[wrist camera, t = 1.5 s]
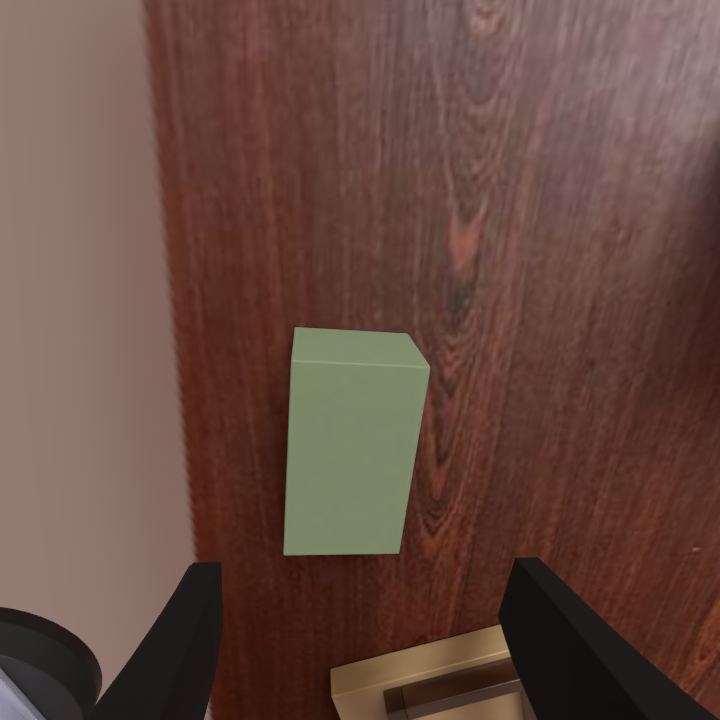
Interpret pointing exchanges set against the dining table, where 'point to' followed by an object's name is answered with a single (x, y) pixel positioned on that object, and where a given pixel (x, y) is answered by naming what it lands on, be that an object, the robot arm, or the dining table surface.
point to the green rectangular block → (351, 440)
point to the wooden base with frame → (435, 682)
